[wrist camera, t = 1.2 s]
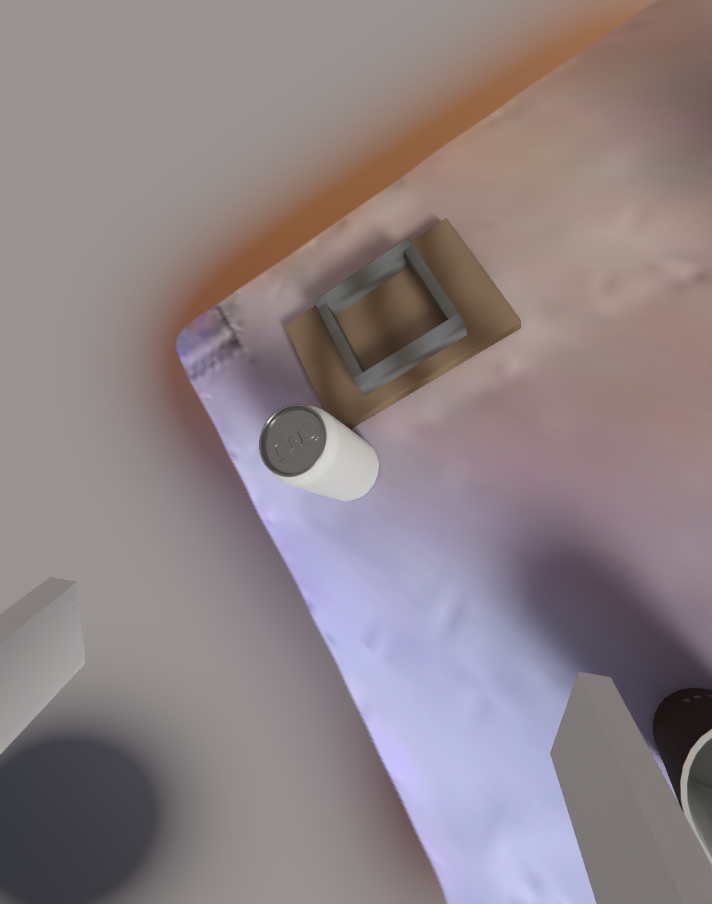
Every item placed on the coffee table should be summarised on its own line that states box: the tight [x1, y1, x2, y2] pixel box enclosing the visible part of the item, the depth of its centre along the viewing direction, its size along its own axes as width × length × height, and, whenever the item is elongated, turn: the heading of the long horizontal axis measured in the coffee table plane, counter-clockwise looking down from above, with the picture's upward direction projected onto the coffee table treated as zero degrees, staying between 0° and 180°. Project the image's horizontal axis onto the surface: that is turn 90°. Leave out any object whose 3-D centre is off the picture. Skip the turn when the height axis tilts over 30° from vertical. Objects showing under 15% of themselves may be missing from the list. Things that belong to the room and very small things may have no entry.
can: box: [259, 404, 379, 501], centre depth 38 cm, size 6×6×12 cm
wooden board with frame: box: [285, 218, 521, 429], centre depth 44 cm, size 20×14×4 cm
